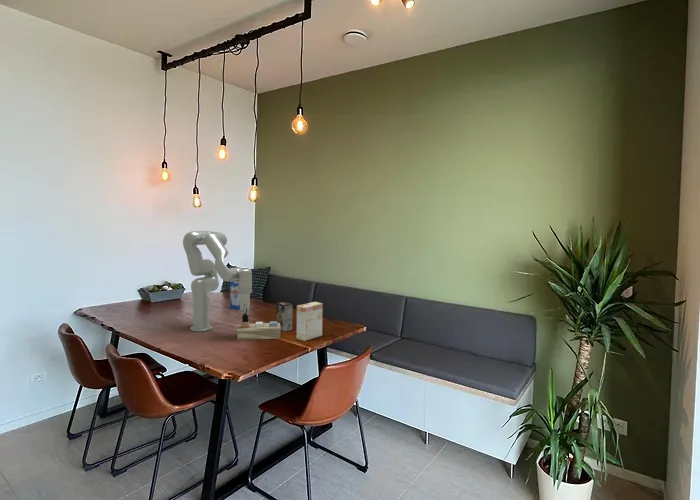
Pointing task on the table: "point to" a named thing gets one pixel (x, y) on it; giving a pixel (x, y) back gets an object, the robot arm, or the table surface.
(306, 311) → the coffeecake box
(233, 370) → the table surface
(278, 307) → the coffee box
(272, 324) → the slate-blue key
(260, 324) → the white key
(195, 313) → the robot arm
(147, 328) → the table surface
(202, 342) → the table surface
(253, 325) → the key console
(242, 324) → the terracotta key
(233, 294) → the milk carton
